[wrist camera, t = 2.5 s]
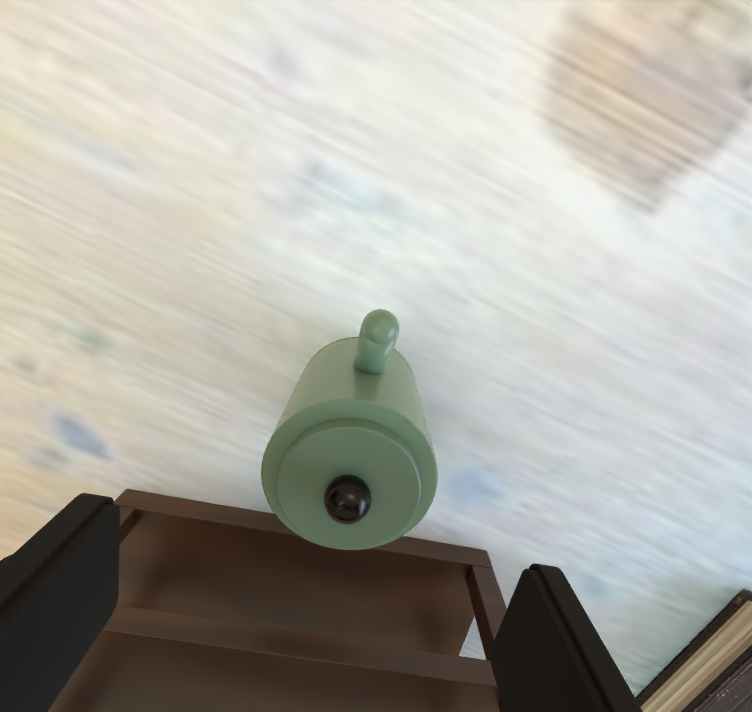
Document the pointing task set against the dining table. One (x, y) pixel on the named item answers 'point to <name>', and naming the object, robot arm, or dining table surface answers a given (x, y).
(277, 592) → the stand
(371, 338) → the kettle
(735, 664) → the hardcover book
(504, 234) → the dining table surface
